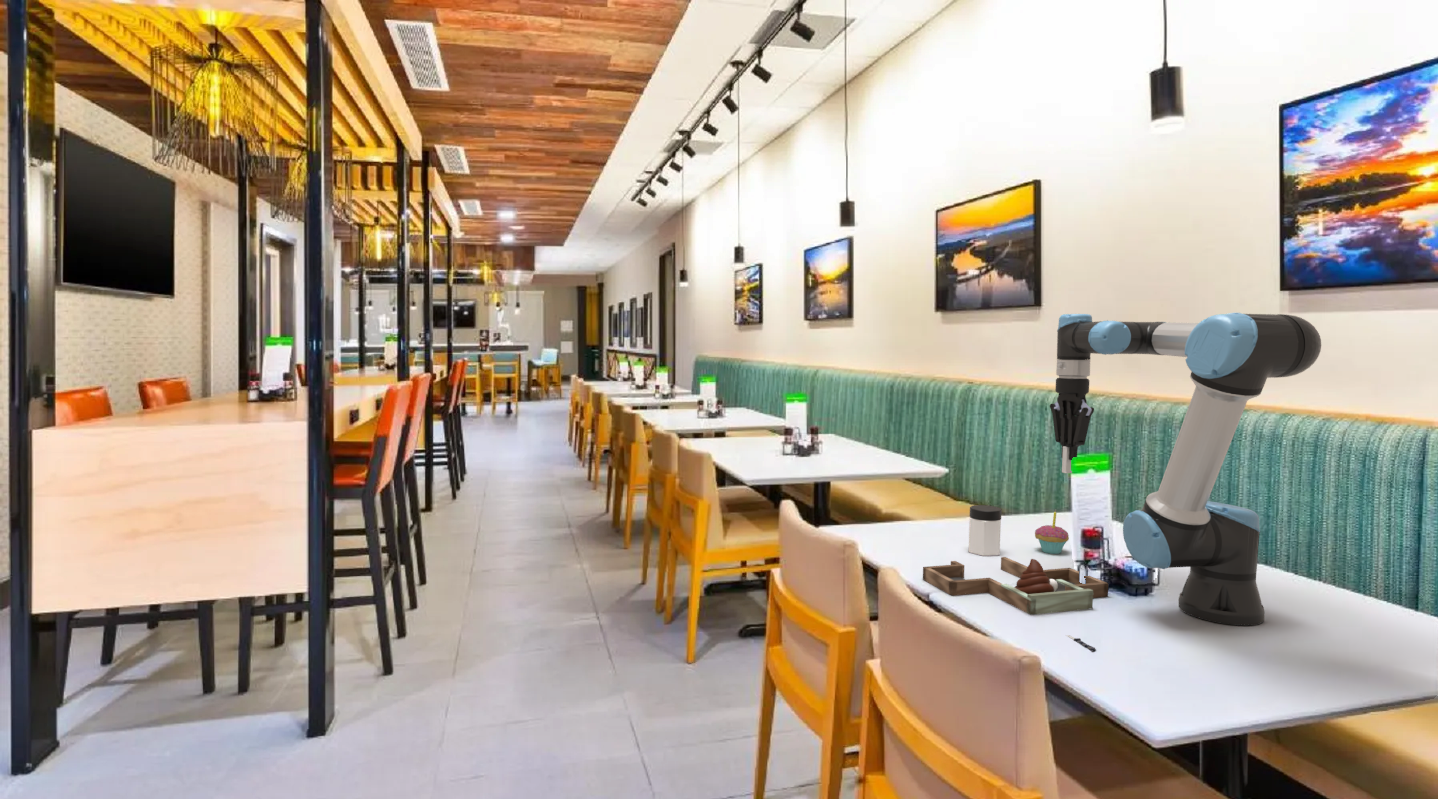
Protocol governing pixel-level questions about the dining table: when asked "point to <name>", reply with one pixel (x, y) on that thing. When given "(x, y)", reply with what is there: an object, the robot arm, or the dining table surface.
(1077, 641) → the knife
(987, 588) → the box
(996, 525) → the jar
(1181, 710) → the dining table surface
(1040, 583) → the poop emoji
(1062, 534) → the cupcake
